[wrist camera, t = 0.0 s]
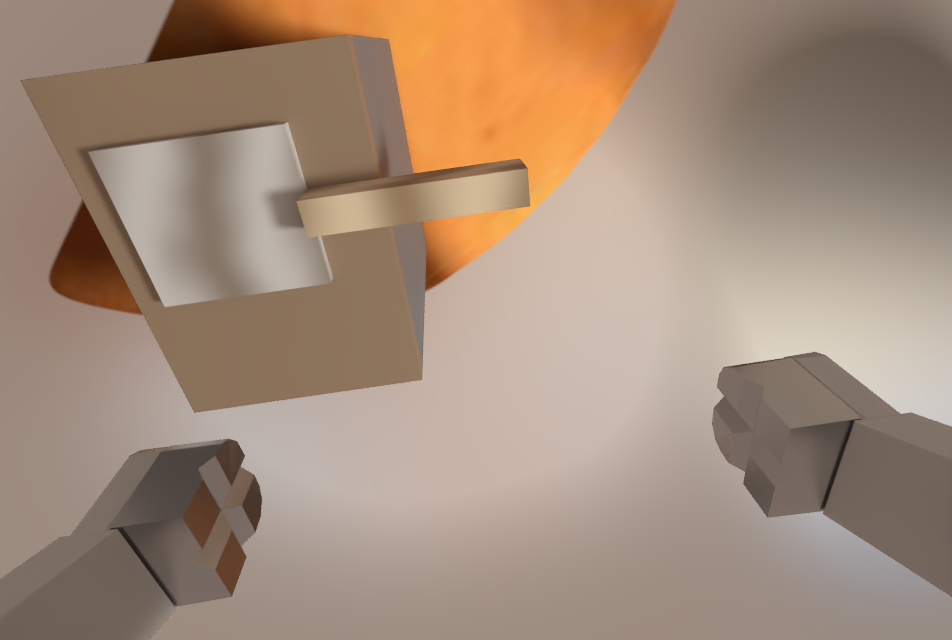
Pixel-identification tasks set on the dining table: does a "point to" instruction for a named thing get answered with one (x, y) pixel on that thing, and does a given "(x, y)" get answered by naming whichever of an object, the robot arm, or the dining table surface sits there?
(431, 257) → the dining table surface
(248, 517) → the robot arm
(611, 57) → the dining table surface
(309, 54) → the grey box
